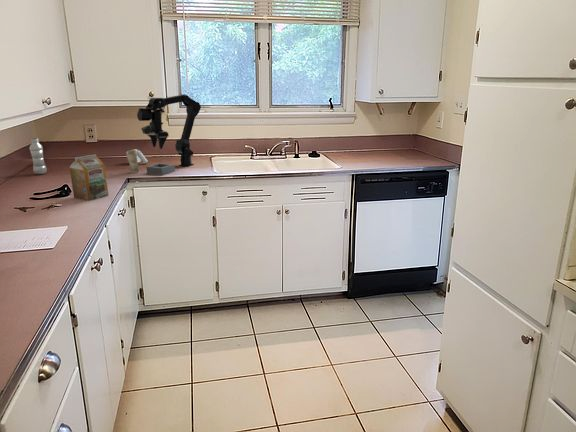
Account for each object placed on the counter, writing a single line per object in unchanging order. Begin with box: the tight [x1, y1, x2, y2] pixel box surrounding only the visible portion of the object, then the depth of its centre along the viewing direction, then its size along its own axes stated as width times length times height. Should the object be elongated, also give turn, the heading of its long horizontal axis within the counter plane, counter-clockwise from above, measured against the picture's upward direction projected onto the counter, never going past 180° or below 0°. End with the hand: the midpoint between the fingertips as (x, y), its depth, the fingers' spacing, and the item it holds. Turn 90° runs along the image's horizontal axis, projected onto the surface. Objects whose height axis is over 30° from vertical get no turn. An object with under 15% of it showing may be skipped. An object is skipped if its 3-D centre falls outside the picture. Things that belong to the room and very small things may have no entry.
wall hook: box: [125, 148, 149, 165], centre depth 280 cm, size 8×10×10 cm
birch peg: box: [128, 149, 139, 174], centre depth 255 cm, size 4×4×12 cm
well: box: [146, 162, 176, 176], centre depth 256 cm, size 11×11×4 cm
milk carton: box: [69, 153, 109, 202], centre depth 204 cm, size 11×11×19 cm
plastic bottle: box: [29, 137, 48, 175], centre depth 249 cm, size 6×7×20 cm
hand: (157, 147), depth 260 cm, fingers open, 9 cm apart
